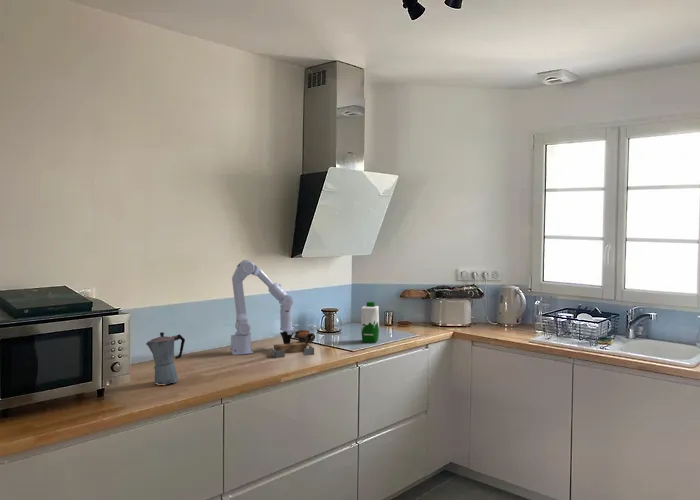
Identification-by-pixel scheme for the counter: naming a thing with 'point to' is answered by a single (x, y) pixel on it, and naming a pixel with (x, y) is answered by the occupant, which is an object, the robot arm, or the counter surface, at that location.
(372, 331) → the milk carton
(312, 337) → the pottery mug
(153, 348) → the moka pot
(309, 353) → the cap
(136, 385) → the counter surface
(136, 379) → the counter surface
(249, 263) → the robot arm
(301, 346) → the slat
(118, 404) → the counter surface
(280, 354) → the cap
